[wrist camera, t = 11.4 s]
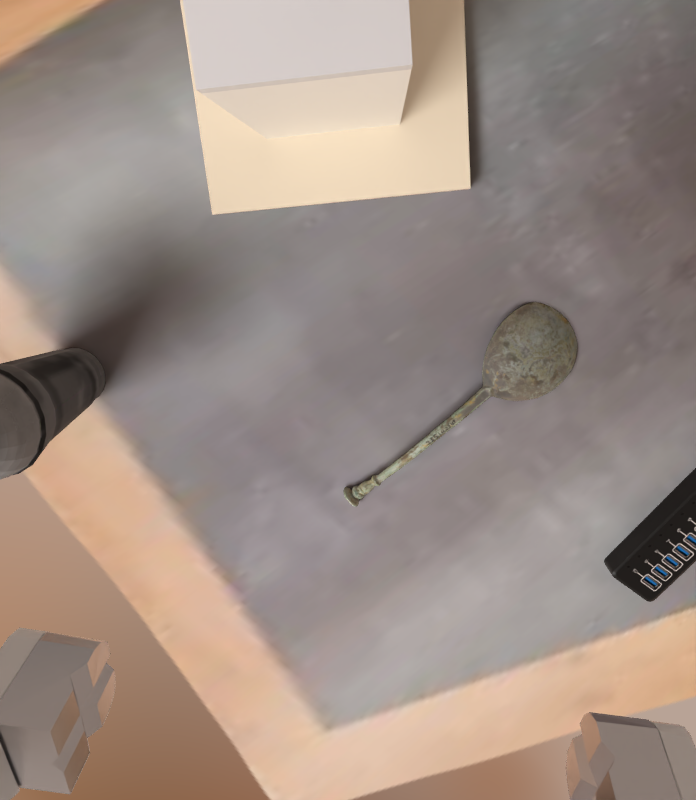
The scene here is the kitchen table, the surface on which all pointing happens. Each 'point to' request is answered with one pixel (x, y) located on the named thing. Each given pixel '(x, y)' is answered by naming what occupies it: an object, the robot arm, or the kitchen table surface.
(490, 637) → the kitchen table surface
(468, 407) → the soupspoon
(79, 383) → the beverage cup
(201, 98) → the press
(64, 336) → the kitchen table surface
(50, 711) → the robot arm
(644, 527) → the multiport hub
